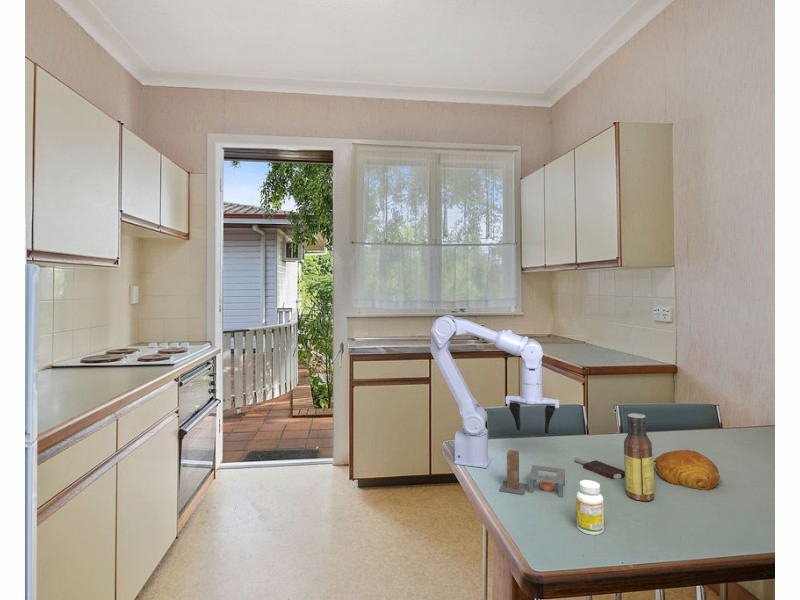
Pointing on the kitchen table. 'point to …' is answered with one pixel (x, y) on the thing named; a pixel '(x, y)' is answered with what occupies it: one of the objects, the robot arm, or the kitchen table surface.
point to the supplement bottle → (590, 508)
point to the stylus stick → (513, 469)
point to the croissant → (687, 469)
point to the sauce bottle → (638, 460)
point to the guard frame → (559, 477)
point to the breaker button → (547, 485)
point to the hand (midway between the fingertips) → (532, 430)
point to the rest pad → (520, 490)
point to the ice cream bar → (602, 469)
